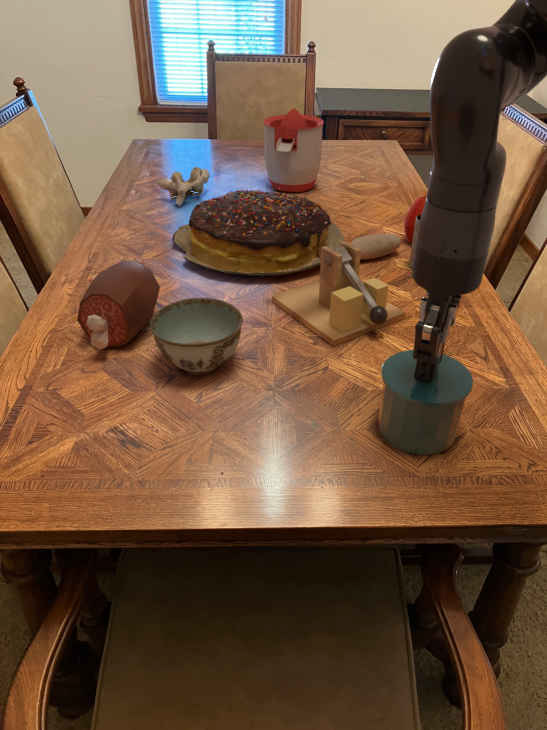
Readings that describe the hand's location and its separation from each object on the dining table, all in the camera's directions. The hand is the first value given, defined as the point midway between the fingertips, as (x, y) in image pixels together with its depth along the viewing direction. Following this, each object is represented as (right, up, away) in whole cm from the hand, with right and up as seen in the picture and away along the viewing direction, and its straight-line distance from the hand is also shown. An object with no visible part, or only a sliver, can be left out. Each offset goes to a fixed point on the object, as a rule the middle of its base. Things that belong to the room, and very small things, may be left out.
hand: (427, 370), depth 71 cm
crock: (0, -8, +6) cm, 10 cm away
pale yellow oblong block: (-7, +7, +25) cm, 27 cm away
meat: (-44, +7, +26) cm, 52 cm away
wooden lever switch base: (-8, +11, +31) cm, 34 cm away
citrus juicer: (-14, +49, +86) cm, 100 cm away
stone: (+2, +23, +49) cm, 55 cm away
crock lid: (0, -1, +1) cm, 1 cm away
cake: (-22, +27, +54) cm, 64 cm away
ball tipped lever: (-5, +13, +25) cm, 29 cm away
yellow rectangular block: (-2, +9, +28) cm, 29 cm away
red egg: (+13, +28, +56) cm, 64 cm away
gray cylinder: (+11, +21, +46) cm, 51 cm away
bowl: (-31, +1, +18) cm, 35 cm away
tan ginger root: (-42, +44, +78) cm, 99 cm away
